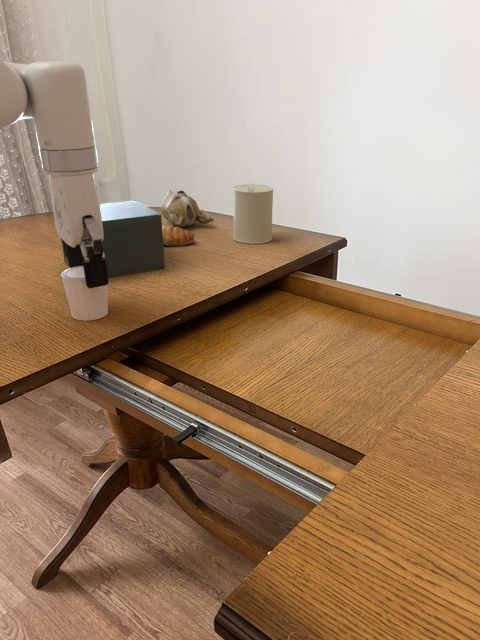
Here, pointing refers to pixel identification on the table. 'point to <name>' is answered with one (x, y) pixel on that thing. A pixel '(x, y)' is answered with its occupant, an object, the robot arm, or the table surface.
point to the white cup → (84, 296)
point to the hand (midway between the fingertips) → (88, 276)
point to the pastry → (176, 236)
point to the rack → (130, 238)
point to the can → (252, 213)
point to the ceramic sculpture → (183, 210)
